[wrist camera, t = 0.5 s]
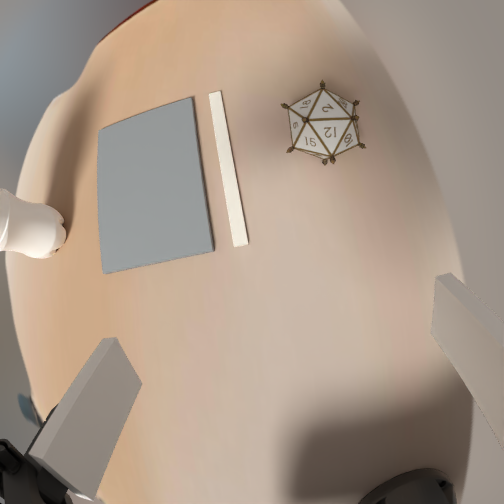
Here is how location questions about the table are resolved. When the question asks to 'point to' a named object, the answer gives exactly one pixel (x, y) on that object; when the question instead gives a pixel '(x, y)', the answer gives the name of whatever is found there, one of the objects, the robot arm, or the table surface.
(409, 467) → the table surface
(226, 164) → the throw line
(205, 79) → the table surface
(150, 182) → the mat
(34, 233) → the water bottle
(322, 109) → the game die
